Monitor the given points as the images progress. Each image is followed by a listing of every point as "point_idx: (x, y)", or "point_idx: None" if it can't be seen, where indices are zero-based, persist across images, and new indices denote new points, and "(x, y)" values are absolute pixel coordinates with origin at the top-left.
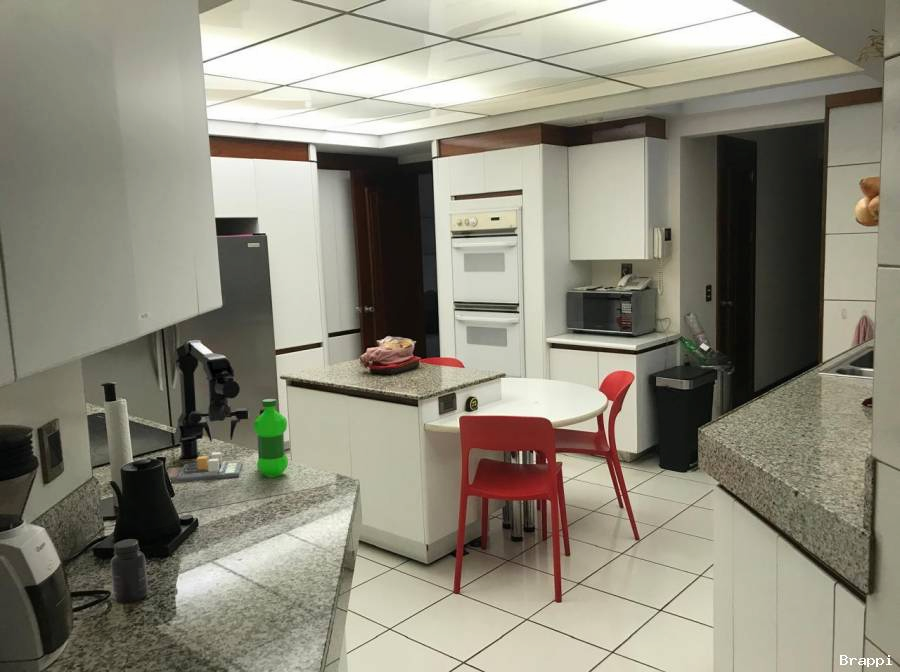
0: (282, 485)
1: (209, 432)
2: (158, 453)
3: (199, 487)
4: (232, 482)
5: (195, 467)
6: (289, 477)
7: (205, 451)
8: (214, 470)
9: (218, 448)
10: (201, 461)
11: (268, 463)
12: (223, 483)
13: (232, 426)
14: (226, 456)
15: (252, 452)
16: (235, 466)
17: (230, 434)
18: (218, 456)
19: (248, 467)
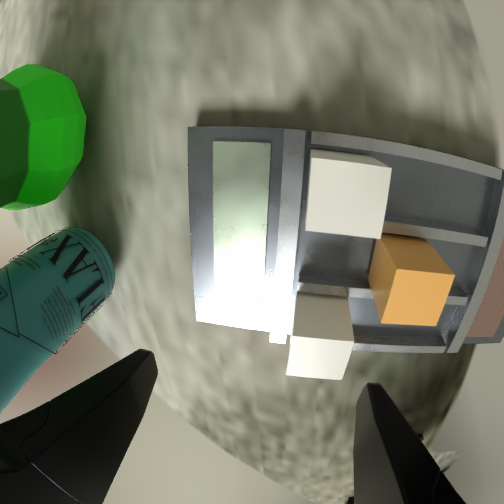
0: (46, 5)
1: (403, 474)
2: (442, 464)
3: (398, 17)
4: (224, 38)
5: None
6: None
7: (338, 466)
8: (335, 153)
9: (300, 473)
10: (423, 262)
11: (18, 70)
12: (273, 33)
13: (20, 444)
14: (278, 426)
15: (195, 424)
16: (217, 259)
17: (112, 387)
18: (307, 327)
19: (170, 277)
